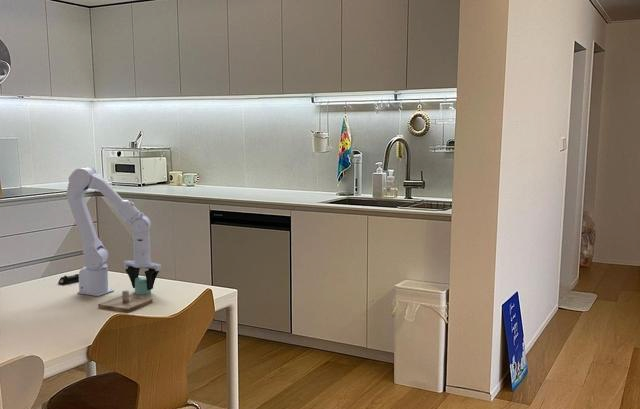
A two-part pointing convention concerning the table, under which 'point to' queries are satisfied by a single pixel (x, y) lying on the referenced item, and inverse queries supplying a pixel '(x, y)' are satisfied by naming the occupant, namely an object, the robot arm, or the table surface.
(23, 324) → the table surface
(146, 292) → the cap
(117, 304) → the post board
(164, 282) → the table surface
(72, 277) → the electric trimmer
